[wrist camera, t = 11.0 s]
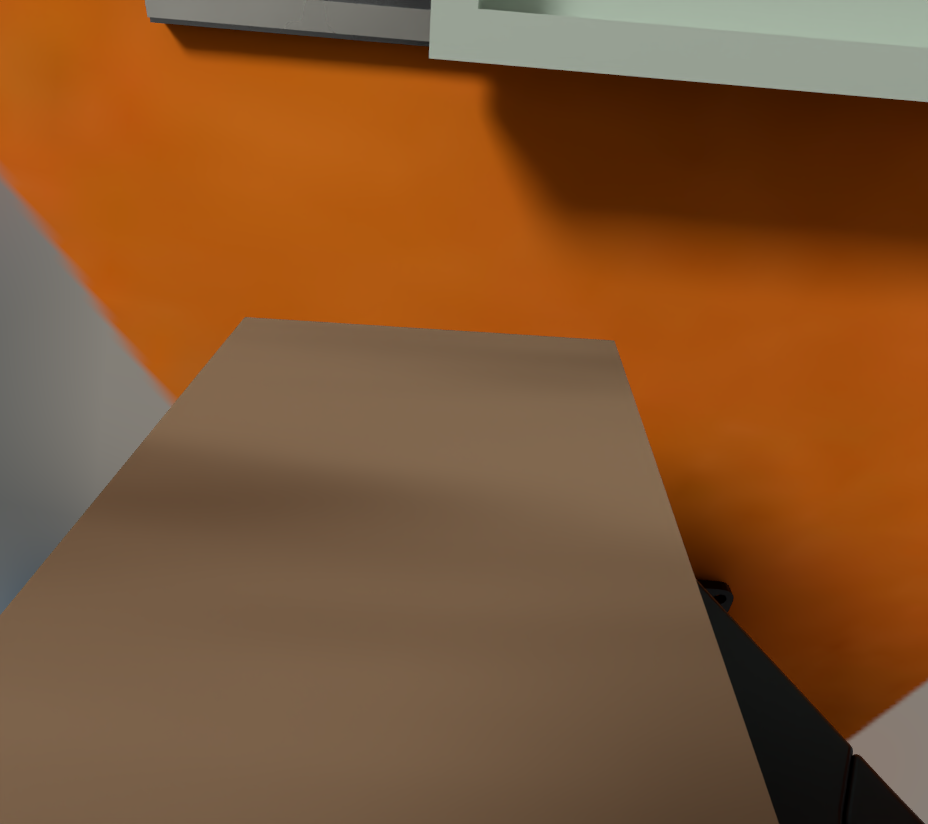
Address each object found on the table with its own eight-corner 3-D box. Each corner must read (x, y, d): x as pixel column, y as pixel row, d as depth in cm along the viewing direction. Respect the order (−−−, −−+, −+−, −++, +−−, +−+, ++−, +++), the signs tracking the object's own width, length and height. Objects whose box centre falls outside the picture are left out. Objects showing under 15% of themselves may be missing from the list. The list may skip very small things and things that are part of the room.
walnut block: (565, 595, 10) (629, 1182, 5) (283, 576, 10) (71, 1136, 5) (614, 340, 8) (830, 975, 3) (244, 316, 8) (-228, 893, 3)
